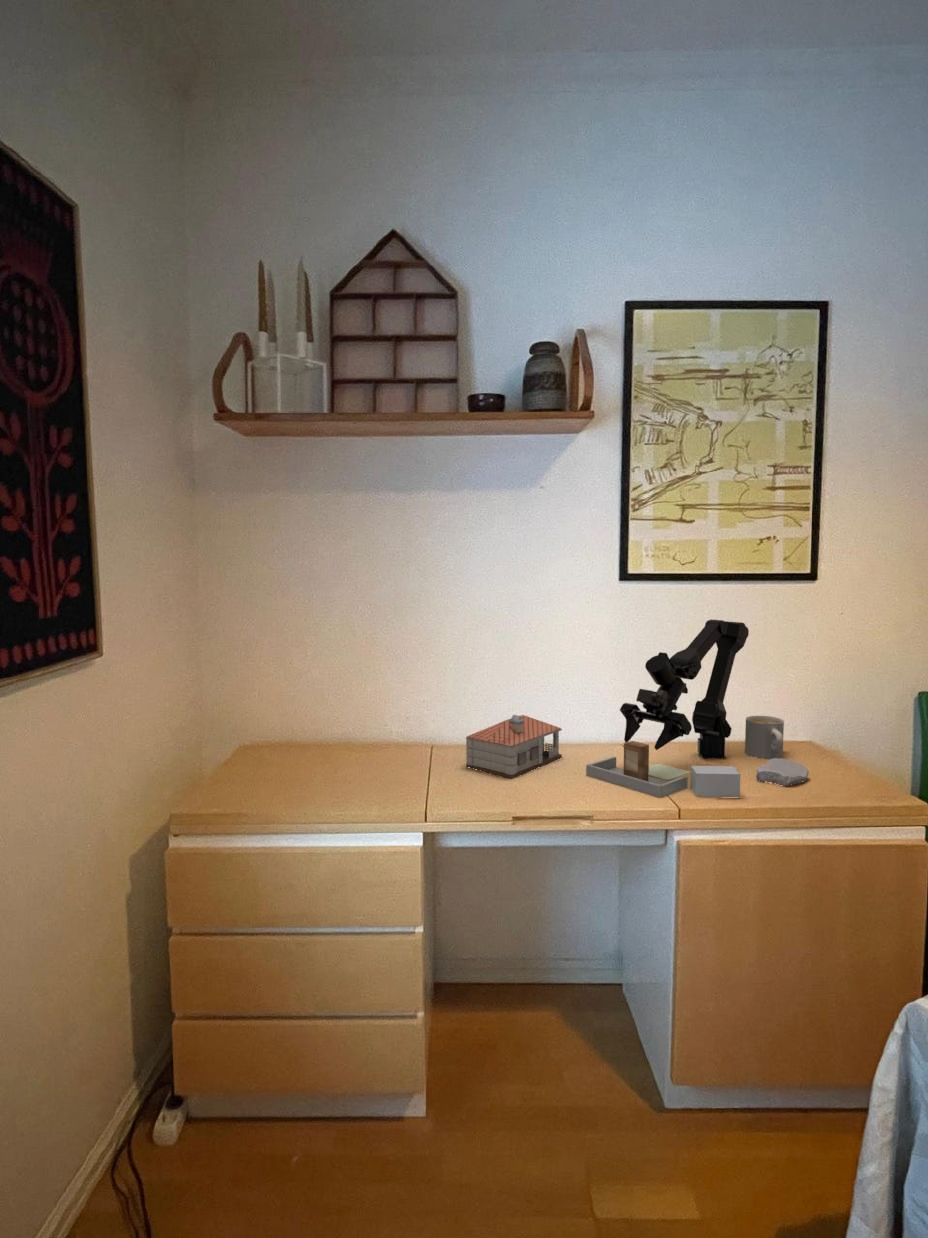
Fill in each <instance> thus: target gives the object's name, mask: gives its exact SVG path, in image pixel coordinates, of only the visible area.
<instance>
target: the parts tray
mask: <svg viewBox="0 0 928 1238" xmlns="http://www.w3.org/2000/svg"><path fill="white" fill-rule="evenodd" d="M585 767H586V769H585V775H586V776H587V777H590V778H593V779H597V780H600V781H604V782H607V783H610V784H614V785H616V786H620V787H623V788H627V789H629V790H632V791H636V792H639V793H642V794H646V795H648V796H649V795H650V796H652V797H655V798H659V799H661V798H663V797H666V796H668V795H671V794H674V793H676V792H680V791H682V790H685V789H688V782H689V781H688V780H689V776H687V775H682V776H679V777H676V778H674V779H671V780H664V779H660V778H657V777H653V776H649V778H648V782H647V781H644V780H641V779H637V778H634V777H630V776H627V775H624V768H621V767H617V756H612V757H607V758H605V759H602V760H598V761H595V762H592V763H589V764H586V766H585Z"/></svg>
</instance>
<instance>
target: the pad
mask: <svg viewBox="0 0 928 1238" xmlns="http://www.w3.org/2000/svg"><path fill="white" fill-rule="evenodd" d="M688 774H691V771H688V770H685V769H681V768H676V767H673V766H669V765H665V764H661V763H656V764H652V765H649V777H653V778H656V779H660V780H663V781H672V780H674V779H677V778H680V777H683V776H686V775H688Z"/></svg>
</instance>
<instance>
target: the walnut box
mask: <svg viewBox="0 0 928 1238" xmlns="http://www.w3.org/2000/svg"><path fill="white" fill-rule="evenodd" d="M649 756H650V744H647V743H643V742H638V741H634V740H632V741H631V740H629V741H628V742H627V743H626V742H624V743H623V769H624V775H627V776H630V777H634V778H637V779H641V780H644V781H647V782H648V778H649V777H650V775H649V766H650V765H649V763H650V762H649V761H650V757H649Z"/></svg>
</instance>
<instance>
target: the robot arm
mask: <svg viewBox="0 0 928 1238" xmlns="http://www.w3.org/2000/svg"><path fill="white" fill-rule="evenodd" d="M749 632H750V631H749V627H748V626H746V624H745V622H739V621H726V620H721V619H709V620H706V622H705V624H704V626H703V628H702V629H701V631H700V632H699V633H698V634H697V635H696V636H695V637H694V639H693V640H692V641H691V642H690V644H689V645H688V646H687V647H686V648H684V649H682V650H680V651H677V652H676V653H674V654H673V655H672V656H671V657H669V655H668V653H667V652H658V654H657V655H654V656H652V657H650V658H649V659H648V660H646V662H645V665H644V666H645V669H646V671H647V673H648V674H649V675H650V677H651V678H652V680H653V682H654V683H655V684H656V685H658V686H659V687H658V689H657V690H656V691H653V690H650V689H644V688H639V690H638V692H637V696H636V702H639V703H641V704H642V707H643V709H645V711H643V710H641V709H640V707H639V705H637V704H635V703H630V702H624V703H623V704H622V705H621V706H620V707H619V711H620V713H621V714H622V716H623V717H624V718H625V732H624V737H623V738H624V739H623V741H624V743H627V742H630V741H631V739H632V738H633V737H634V736H635V734H636V733H637V732H638V730H639V729H640V727H641V725H640V724H642V723H643V722H644V720H646V721H651V722H655V723H660V724H663V729H662V731H661V733H660V734H659V737H657V739H656V742H655V744H654V746H653V747H654V750H656V751H658V750H659V749H661V748H662V747H664V746H665V745H667V744H668V743H671V742H672V741H674V740H676V739H677V738H680V737H681V738H682V737H683V736H684V735H685V736H689V735H690V733H691V731H692V726H693V729H694V733H696V734H699V737H698V738H697V750H696V751H697V753H698V754H699V756H700V757H701V758H702V759H716V760H717V759H719V760H723V759H725V760H726V759H727V756H726V751H725V749H726V738H728V739H729V737H731V733H732V727H731V725H730V724H729V722H728V721H727V719H726V718H727V711H726V707H725V705H724V701H725V697H726V692H727V688H728V686H729V685H728V684H729V681H730V678H731V673H732V671H733V670H732V669H733V666H734V663H735V658H736V655H737V653H738V652H740V651H741V649H743V648H744V646H745V645H746V641H747V638H748V637H749ZM715 645H716V649H717V651H716V655H715V658H714V663H713V667H712V670H711V674H710V678H709V682H708V686H707V688H706V689H707V690H706V694H705V696H704V697H703V698H702V699H701V700H696V703H695V705H694V710H693V712H692V716H691V717H692V718H691V721H692V724H691V722H690V720H689V719H688V717H687V716H686V715H685V713H680V712H676V711H677V710H678V705H677V703H678V701H679V700H680V697H681V695H682V694H686V695H687V694H688V693H689V689H688V687H687V683H686V682H684V681H683V679H684V680H694V679H696V677H697V676H698V675H699V672H700V671H701V669H702V660H703V659H704V658H705V656H706V655H707V654H708V652H709V651H710V650H711V649H712V648H713V647H714V646H715Z"/></svg>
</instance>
